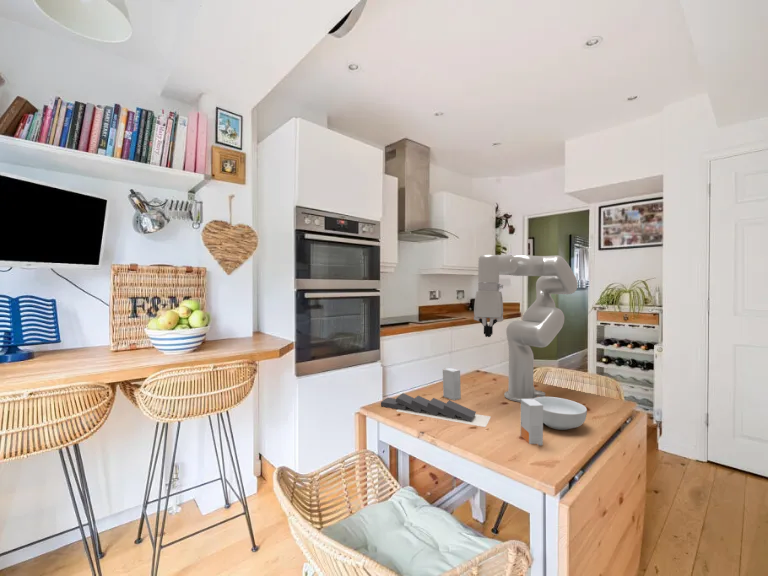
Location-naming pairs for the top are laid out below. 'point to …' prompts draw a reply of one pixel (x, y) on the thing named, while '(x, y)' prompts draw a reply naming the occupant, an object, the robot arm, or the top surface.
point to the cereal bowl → (562, 412)
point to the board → (477, 420)
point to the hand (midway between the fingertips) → (488, 336)
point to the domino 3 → (423, 405)
